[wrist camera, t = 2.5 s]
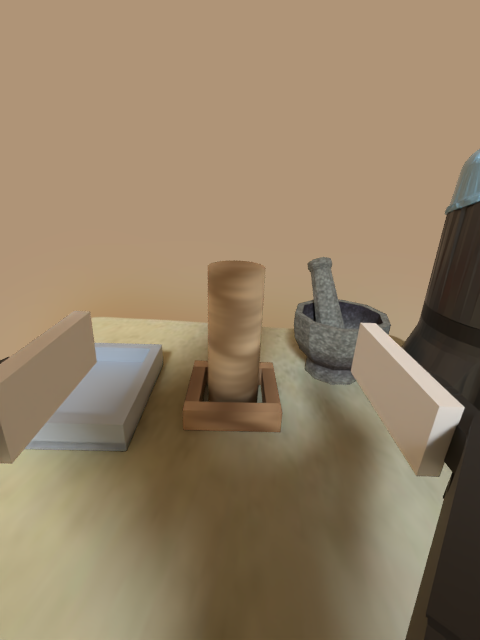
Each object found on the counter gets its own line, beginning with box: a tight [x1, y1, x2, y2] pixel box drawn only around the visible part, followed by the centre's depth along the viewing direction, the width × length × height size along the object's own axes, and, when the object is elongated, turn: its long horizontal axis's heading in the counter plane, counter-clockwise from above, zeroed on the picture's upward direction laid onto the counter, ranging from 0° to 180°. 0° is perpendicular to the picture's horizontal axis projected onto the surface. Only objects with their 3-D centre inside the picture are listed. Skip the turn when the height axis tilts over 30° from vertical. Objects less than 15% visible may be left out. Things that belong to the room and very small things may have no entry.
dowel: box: [208, 261, 265, 403], centre depth 28 cm, size 5×5×13 cm
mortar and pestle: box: [294, 257, 391, 384], centre depth 35 cm, size 11×9×12 cm
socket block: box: [183, 361, 282, 432], centre depth 30 cm, size 8×8×2 cm
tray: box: [25, 343, 163, 451], centre depth 30 cm, size 10×13×2 cm
